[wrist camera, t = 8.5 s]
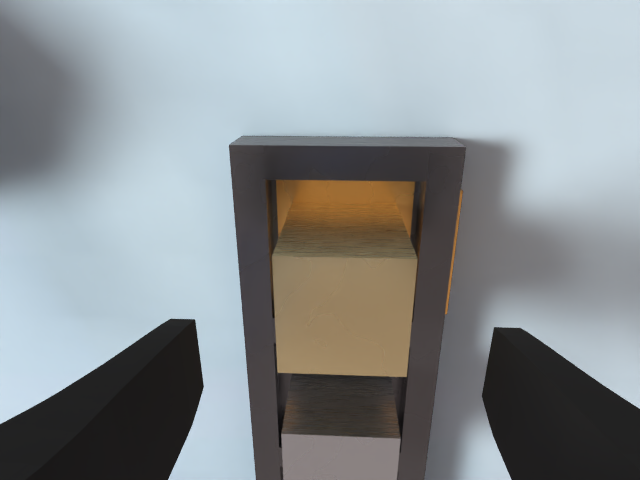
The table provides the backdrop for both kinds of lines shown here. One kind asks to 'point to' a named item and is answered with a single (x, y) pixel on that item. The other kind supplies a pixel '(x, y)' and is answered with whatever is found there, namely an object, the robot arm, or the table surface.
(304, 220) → the light wood cube
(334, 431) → the matte gray cube
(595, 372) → the table surface
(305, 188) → the rail
